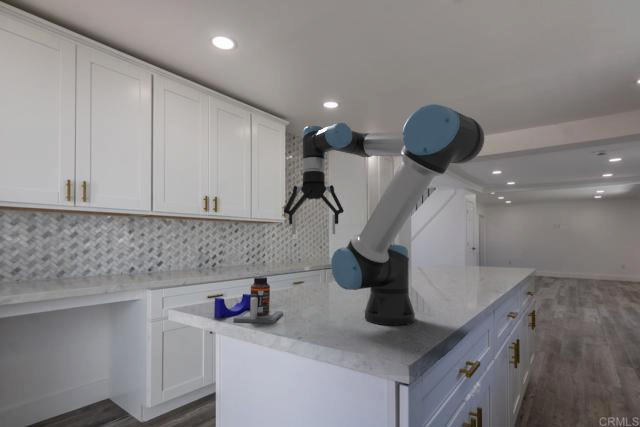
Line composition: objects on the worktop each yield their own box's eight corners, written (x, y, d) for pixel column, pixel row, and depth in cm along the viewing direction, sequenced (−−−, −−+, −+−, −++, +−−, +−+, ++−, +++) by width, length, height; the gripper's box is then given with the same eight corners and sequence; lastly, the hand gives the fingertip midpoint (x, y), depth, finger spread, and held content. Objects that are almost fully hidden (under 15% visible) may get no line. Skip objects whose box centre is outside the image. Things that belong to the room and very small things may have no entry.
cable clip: (243, 310, 117) (243, 293, 118) (251, 312, 114) (251, 294, 115) (211, 316, 109) (212, 297, 109) (219, 319, 106) (219, 299, 106)
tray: (283, 314, 112) (283, 292, 113) (272, 323, 99) (273, 299, 100) (248, 312, 114) (248, 291, 114) (232, 322, 101) (233, 298, 101)
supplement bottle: (265, 316, 103) (265, 278, 103) (246, 315, 104) (247, 278, 105) (272, 312, 108) (272, 276, 109) (254, 311, 110) (255, 275, 111)
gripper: (350, 173, 120) (350, 234, 119) (280, 175, 123) (279, 234, 121) (350, 169, 113) (350, 233, 111) (275, 170, 115) (275, 234, 113)
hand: (313, 234), depth 116 cm, fingers open, 13 cm apart
